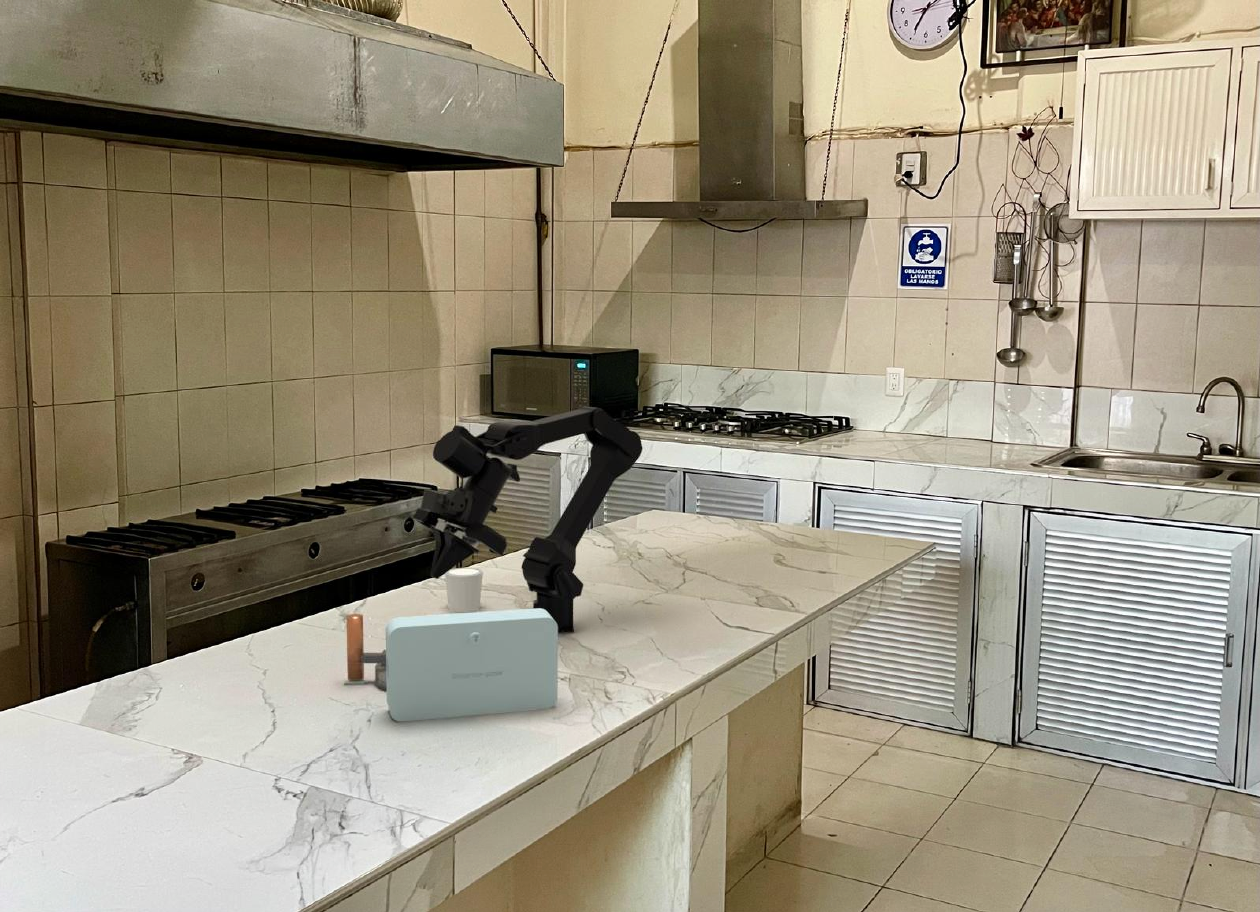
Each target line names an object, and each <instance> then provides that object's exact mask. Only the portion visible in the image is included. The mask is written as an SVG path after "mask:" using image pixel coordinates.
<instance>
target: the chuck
mask: <svg viewBox="0 0 1260 912" xmlns="http://www.w3.org/2000/svg"><path fill="white" fill-rule="evenodd" d="M374 680H375V681H374V684H375V687H377V688H378V689H379V690H382V691H385V692H387V683H386V667H381V663H375V666H374Z"/></svg>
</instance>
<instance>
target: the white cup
mask: <svg viewBox="0 0 1260 912" xmlns="http://www.w3.org/2000/svg"><path fill="white" fill-rule="evenodd" d="M483 574H484V571H483V570H482V569H479V568H475V567H455V568H452V569H450V570H449V571H448V572H446V573H445V574H444V577H445V586H446V596H447V606H448V610H449V611H451V612H453V613H457V614H458V613H474V612H478V611H479V610H480V608H481V599H482V585H483V576H484V575H483Z"/></svg>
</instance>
